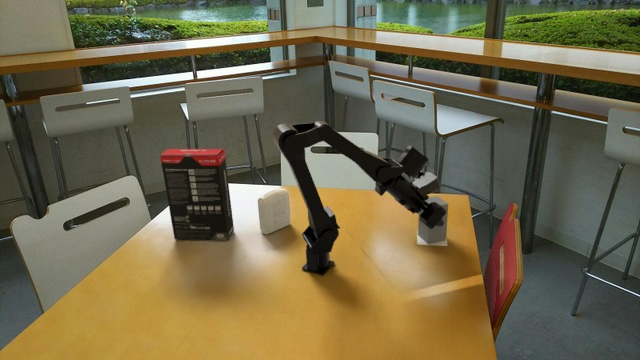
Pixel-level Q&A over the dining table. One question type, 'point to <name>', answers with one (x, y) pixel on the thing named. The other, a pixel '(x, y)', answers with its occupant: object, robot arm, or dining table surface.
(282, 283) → the dining table surface
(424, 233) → the tall grey box
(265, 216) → the photo printer
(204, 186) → the graphics card box
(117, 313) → the dining table surface
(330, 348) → the dining table surface
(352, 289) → the dining table surface
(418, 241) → the base
